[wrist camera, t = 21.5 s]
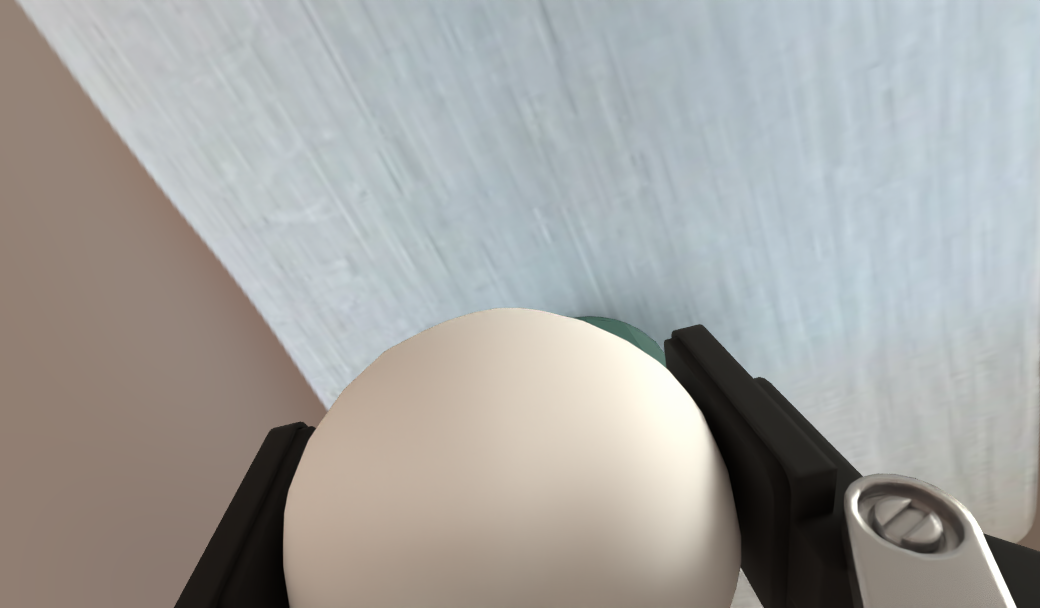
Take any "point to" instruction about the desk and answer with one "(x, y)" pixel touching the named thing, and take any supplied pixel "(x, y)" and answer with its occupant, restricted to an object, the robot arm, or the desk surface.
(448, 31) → the desk surface
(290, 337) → the desk surface
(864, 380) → the desk surface
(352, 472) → the plain white apple
